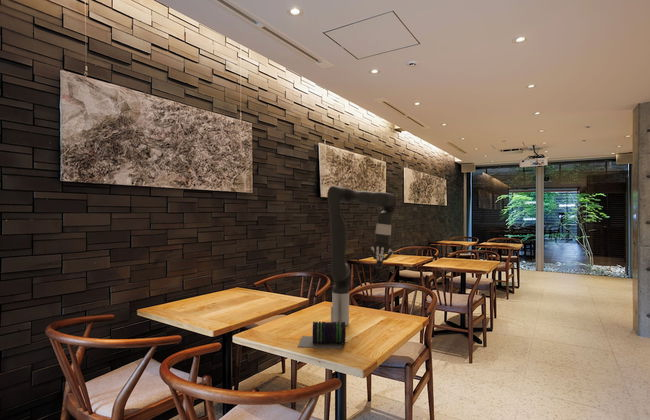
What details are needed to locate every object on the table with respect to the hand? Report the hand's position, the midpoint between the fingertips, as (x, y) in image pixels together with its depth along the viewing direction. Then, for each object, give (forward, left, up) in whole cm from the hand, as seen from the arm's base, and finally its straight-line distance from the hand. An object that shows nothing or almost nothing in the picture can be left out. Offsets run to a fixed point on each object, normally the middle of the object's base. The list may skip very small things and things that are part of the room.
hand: (379, 268), depth 182 cm
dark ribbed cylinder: (-12, -16, -29) cm, 35 cm away
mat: (-23, -18, -34) cm, 45 cm away
